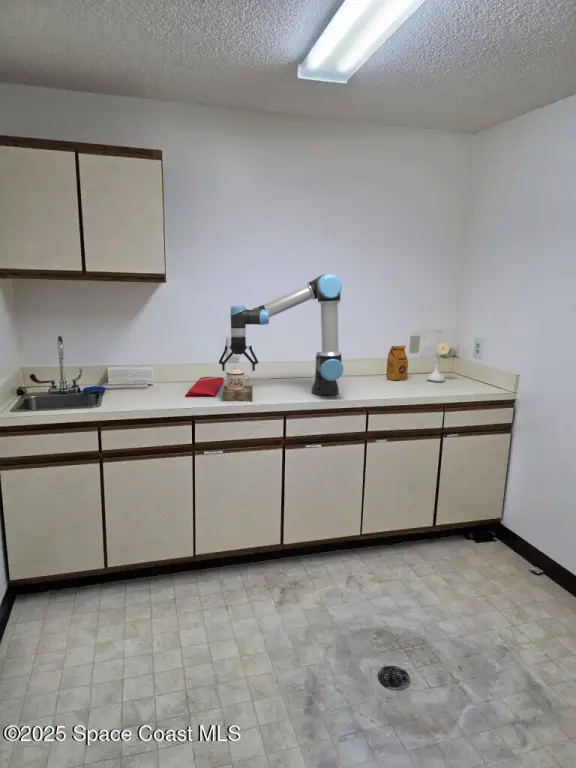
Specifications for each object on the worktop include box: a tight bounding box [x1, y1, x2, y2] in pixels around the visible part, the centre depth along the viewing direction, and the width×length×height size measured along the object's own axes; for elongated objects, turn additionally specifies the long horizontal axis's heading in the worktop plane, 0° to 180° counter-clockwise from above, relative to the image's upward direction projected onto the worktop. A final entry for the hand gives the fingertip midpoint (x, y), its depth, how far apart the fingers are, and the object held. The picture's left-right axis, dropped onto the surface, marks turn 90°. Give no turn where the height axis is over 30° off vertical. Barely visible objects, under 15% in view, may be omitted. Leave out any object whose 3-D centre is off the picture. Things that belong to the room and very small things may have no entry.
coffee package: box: [385, 345, 409, 381], centre depth 325 cm, size 10×12×22 cm
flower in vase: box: [426, 342, 451, 383], centre depth 323 cm, size 13×11×25 cm
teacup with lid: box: [226, 366, 251, 391], centre depth 265 cm, size 12×9×12 cm
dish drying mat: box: [184, 376, 225, 398], centre depth 286 cm, size 16×41×4 cm, turn 179°
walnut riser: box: [222, 385, 254, 403], centre depth 266 cm, size 15×15×5 cm
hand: (238, 377), depth 265 cm, fingers open, 13 cm apart
